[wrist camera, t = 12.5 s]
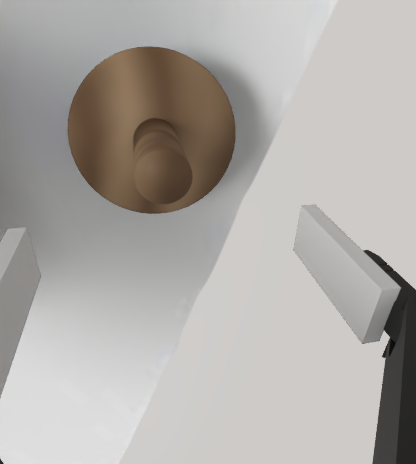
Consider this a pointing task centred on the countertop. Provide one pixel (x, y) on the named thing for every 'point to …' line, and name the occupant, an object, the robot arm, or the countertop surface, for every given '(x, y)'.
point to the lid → (151, 130)
